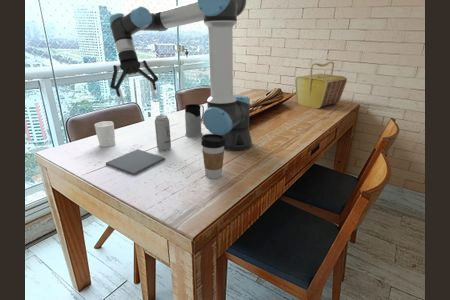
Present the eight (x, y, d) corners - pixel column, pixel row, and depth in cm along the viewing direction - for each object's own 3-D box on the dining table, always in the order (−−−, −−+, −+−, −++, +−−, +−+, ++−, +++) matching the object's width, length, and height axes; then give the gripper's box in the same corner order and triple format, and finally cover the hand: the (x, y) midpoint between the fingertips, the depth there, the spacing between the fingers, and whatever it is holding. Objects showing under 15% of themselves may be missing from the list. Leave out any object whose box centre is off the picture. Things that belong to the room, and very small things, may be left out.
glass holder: (181, 135, 137) (180, 106, 131) (197, 128, 149) (196, 101, 143) (196, 138, 133) (195, 109, 127) (210, 130, 145) (210, 103, 139)
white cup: (110, 148, 121) (106, 127, 117) (94, 146, 123) (90, 125, 119) (120, 142, 128) (116, 121, 125) (105, 140, 130) (101, 120, 126)
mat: (165, 159, 111) (164, 157, 110) (134, 175, 98) (133, 173, 98) (137, 151, 118) (137, 149, 118) (106, 164, 106) (105, 162, 106)
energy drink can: (168, 152, 118) (165, 119, 112) (155, 151, 119) (151, 118, 113) (173, 147, 123) (170, 115, 117) (160, 146, 124) (157, 114, 118)
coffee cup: (202, 170, 103) (201, 132, 97) (224, 169, 103) (224, 132, 98) (202, 181, 95) (201, 141, 89) (226, 180, 96) (226, 140, 90)
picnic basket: (313, 98, 220) (318, 60, 209) (343, 104, 202) (351, 62, 191) (291, 104, 203) (295, 62, 191) (322, 111, 185) (329, 65, 173)
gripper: (155, 50, 124) (167, 96, 125) (98, 59, 118) (111, 107, 119) (155, 44, 116) (168, 93, 118) (94, 54, 110) (108, 105, 112)
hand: (139, 100), depth 119 cm, fingers open, 13 cm apart
